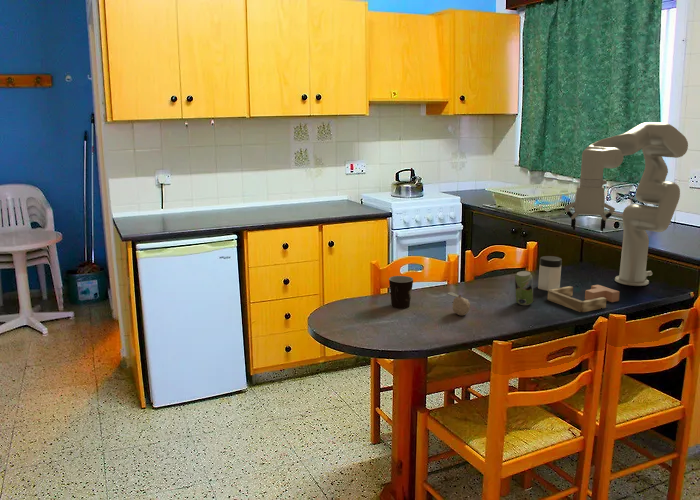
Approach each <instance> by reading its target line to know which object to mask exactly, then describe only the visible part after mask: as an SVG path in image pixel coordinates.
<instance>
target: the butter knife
mask: <svg viewBox="0 0 700 500" xmlns="http://www.w3.org/2000/svg"><path fill="white" fill-rule="evenodd" d="M447 295H450V296H453V297H455V298H456V297H458V296H459V295H460V294H457V293H454V292H452V291H449V292H447ZM461 297H462V298H464V297H463V296H461ZM465 299H466V300H468V301H469V299H467V298H465Z"/></svg>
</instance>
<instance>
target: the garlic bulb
mask: <svg viewBox="0 0 700 500" xmlns="http://www.w3.org/2000/svg"><path fill="white" fill-rule="evenodd" d="M458 295H459V296H458V297H455V298H454V299H453V301H452V306H451V307H452V311H453V312H454V313H455V314H456V315H458V316H460V317H461V316H465V315H467V314H468V313H469V311H470V308H471V303H470V300H469V299H468V300H466V299H467V298H464V297H463V296H462V295H461V294H458ZM462 297H463V298H462Z"/></svg>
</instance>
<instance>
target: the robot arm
mask: <svg viewBox="0 0 700 500" xmlns="http://www.w3.org/2000/svg"><path fill="white" fill-rule="evenodd" d="M688 142H689V141H688V139H687V138H686V136H685V135H684V134H683V133H682V132H680V131H679V130H678V129H677V128H676V127H675V126H673V125H672V124H669V123H667V122H652V121H651V122H650V121H649V122H642V123H640V124H637V125H636V126H634V127H632V128H631V129H629V130H627V131H625V132H623V133H621V134H617V135H613V136H611V137H610V136H609V137H605V138H602V139H599V140H596V141H594V142H593V143H591V144H589V145H588V146H587V147H586V148H585V149H584V150H583V151H582V153H581V166H580V167H581V168H580V177H579V178H580V181H579V186H577V188H576V193H575V198H574V202H572V203H569V204H567V205H565V206H564V207H563V209H564V211H565V212H566V214H567V216H568V217H569V218H570V219H571V220H570V222H571V223H570V228H572V230H573V231H575V230H576V223H577V219H576V218H577V217H578V215H583V216H587V215H588V216H600V217H601V219H600V227H599V228H600V229H599V230H600V232H604V229H606V222H607V220H608V219H609V218H610V217H612V215H613V214H614V212H615V211H616V208H615V207H613V206H612V205H610V204H608V203H606V202H605V201H606V197H605V195H606V194H605V187H604V185H607V183H608V181H607V180H605V179H604V169H615V168H618V167H620V166H621V165H622V163H623V161H624V156H631V155H634V154H636V153H638V151H639V152H640V150H641V151H642V154H643V159H644V165H645V166H644V170H643V174H642V176H641V177H640V180H639V184H638V185H637V189H636V191H635V198H636V200H637V201H638V202H639V203H640V204H637V203H636V204H634V203H633V204H629V205H627V206H626V207H624V209H623V212H622V224H623V225H622V226H623V231H622V232H623V235H622V246H621V254H620V256H621V258H620V264H619V265H620V266H619V275H616V276H615V277H614V281H615V282H616V283H618V284H621V285H625V286H630V287H631V286H634V287H642V286H643V287H644V286H647V285H649V284H650V280H648V278H647V277H650V276H653V272H652V270H647V263H648V262H647V261H648V255H649V254H648V253H649V247H650V246H649V243H650V240H649V235H648V233H647V231H649V232H653V233H654V232H655V233H663V232H665V231H666V230H668V228H669V227H670V224H671V222H672V220H673V219H672V218H673V216H674V214H675V211H676V209H677V207H678V204H679V201H680V197H681V189H680V186H679V185H678V184H677V183H676V182H673V181H667V175H668V174H669V169H668V166H667V163H666V162H665V160H664V158H672V159H673V158H674V159H675V158H681V157H683V156H684V155H686V153H687V152H688V149H689V143H688ZM641 203H642V204H641ZM647 204H648V205H647ZM651 205H652V206H651ZM654 205H655V206H654ZM571 208H573V209H574V212H571V211H570V209H571ZM605 208H606V209H607V210H609V211H608V212H607V213H605Z"/></svg>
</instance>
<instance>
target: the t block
mask: <svg viewBox="0 0 700 500" xmlns="http://www.w3.org/2000/svg"><path fill="white" fill-rule="evenodd" d="M620 292H621V291H619V290H616V289H613V288H611V287H610V288H609V287H606V286H604V285H601V284H594V285H590V289H586V290H585V293H584V301H585V300H590V299H596V298H601V297H604V298H607V300H606V302H611V303H614V302H619V301H620Z"/></svg>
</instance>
